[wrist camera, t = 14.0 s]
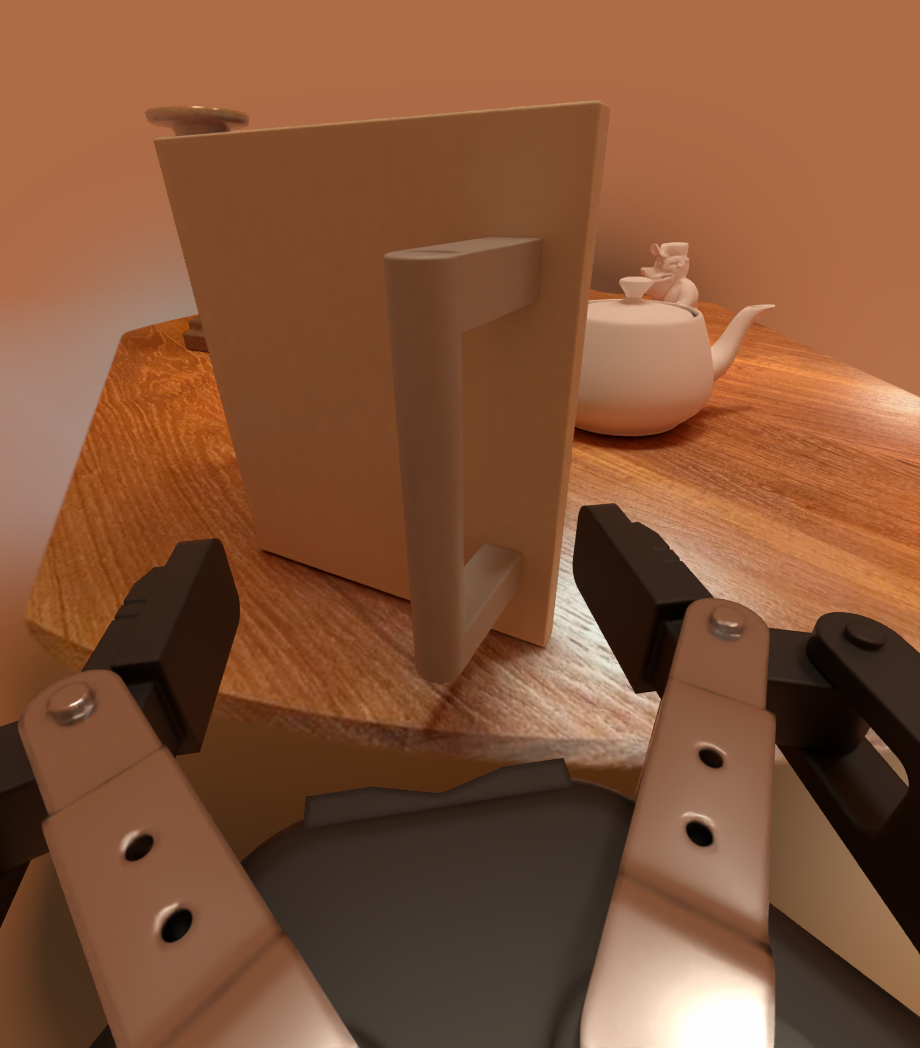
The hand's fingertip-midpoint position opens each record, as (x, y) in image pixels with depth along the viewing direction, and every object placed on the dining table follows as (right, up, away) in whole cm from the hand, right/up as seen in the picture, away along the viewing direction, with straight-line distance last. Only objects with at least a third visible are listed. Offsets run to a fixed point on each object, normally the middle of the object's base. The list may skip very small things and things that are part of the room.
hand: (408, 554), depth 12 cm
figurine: (+22, +17, +45) cm, 53 cm away
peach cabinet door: (-4, -4, +11) cm, 12 cm away
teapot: (+15, +10, +33) cm, 37 cm away
